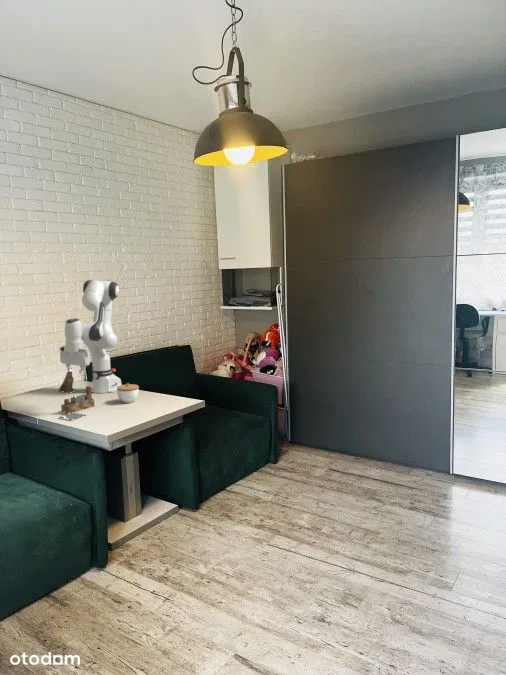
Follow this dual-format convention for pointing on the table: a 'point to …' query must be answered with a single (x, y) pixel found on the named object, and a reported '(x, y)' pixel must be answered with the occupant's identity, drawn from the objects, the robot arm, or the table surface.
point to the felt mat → (73, 416)
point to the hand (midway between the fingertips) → (75, 372)
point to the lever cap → (77, 399)
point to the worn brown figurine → (67, 383)
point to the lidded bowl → (128, 393)
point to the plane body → (73, 407)
